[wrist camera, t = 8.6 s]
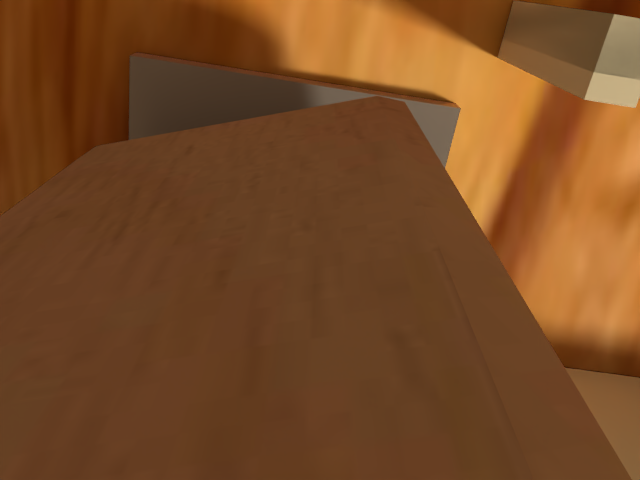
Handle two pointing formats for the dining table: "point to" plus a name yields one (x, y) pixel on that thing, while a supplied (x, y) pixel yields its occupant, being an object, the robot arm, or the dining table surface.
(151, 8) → the dining table surface
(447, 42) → the dining table surface
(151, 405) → the wooden block
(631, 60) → the crate
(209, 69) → the trivet
